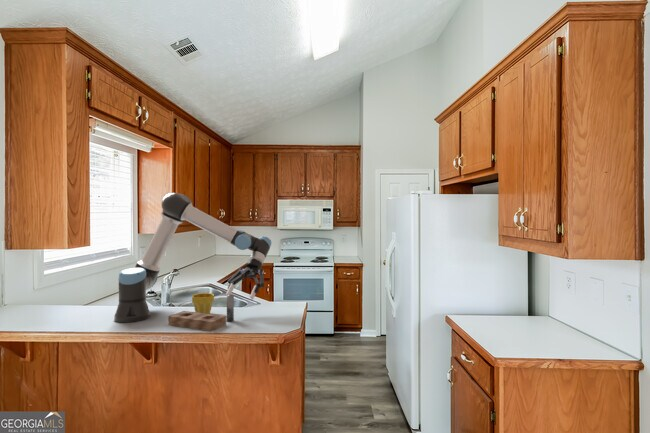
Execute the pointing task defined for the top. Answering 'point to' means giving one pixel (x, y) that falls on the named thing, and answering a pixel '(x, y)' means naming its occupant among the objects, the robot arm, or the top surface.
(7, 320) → the top surface
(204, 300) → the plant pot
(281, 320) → the top surface
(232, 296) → the metal pin
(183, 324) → the walnut block
